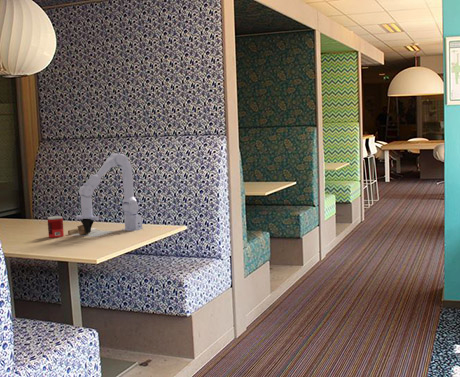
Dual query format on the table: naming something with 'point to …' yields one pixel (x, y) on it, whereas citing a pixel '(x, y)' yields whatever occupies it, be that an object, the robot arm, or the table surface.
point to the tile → (92, 230)
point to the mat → (95, 233)
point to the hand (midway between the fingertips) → (88, 232)
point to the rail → (73, 231)
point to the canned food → (55, 227)
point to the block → (81, 230)
